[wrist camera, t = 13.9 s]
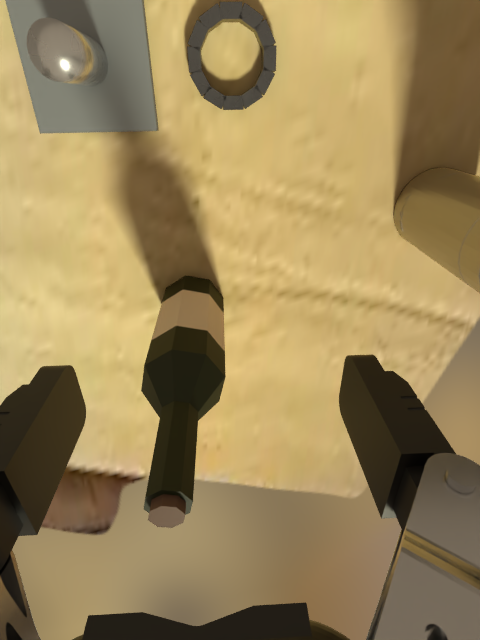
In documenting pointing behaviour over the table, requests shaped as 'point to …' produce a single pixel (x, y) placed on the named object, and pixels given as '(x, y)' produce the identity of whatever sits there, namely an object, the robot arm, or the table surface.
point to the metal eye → (266, 42)
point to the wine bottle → (182, 390)
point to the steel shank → (66, 53)
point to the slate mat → (122, 76)
